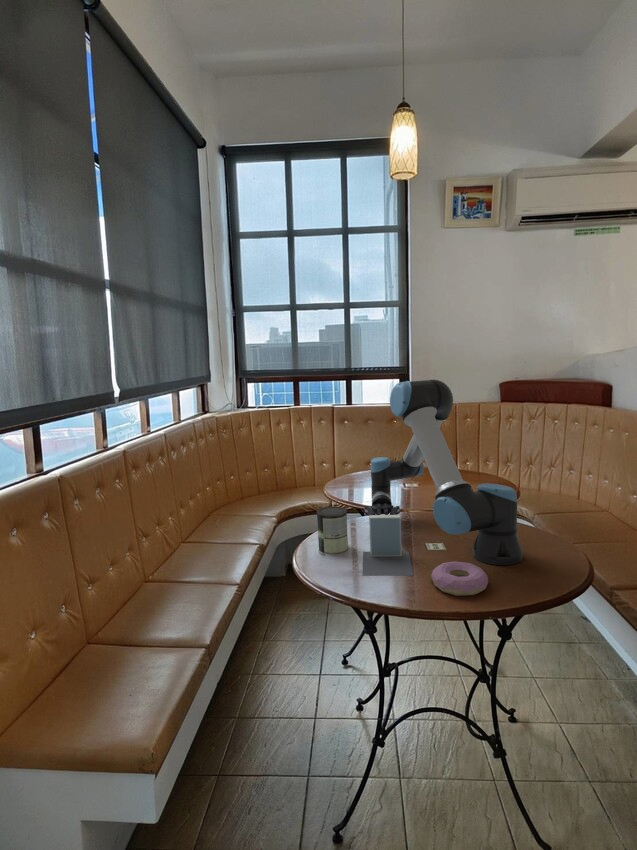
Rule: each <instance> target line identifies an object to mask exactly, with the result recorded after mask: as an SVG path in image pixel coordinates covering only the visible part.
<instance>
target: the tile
mask: <svg viewBox="0 0 637 850" xmlns="http://www.w3.org/2000/svg"><path fill="white" fill-rule="evenodd" d="M368 518H369V519H368V521H369V546H370V547H369V548H370V551H369V552H371V556H402V550H403V549H402V522H401V520H402V517H401V514H397V515H390V514H388V515H376V514H375V515H369V516H368Z"/></svg>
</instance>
